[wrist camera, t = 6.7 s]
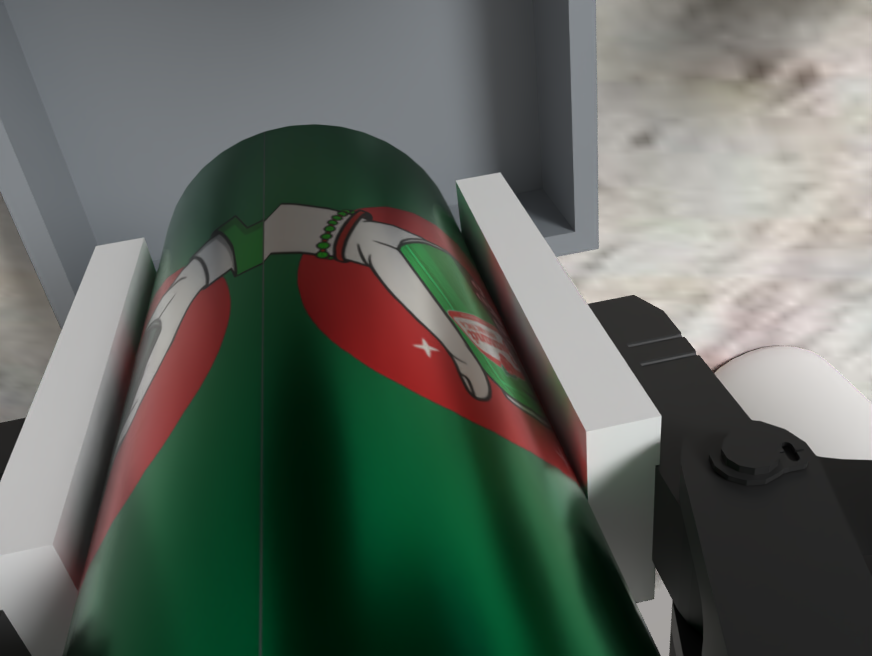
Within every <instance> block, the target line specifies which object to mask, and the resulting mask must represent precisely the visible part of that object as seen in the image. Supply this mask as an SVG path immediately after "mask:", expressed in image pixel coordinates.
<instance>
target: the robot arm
mask: <svg viewBox="0 0 872 656" xmlns="http://www.w3.org/2000/svg"><path fill="white" fill-rule="evenodd" d="M456 190H457V199H458V207H459V216H460V225H461V233H462V236H463V238H464V240H465V242H466V244H467V246H468V248H469V250H470V253H471V255H472V257H473V259H474V261H475V263H476V265H477V267H478V270H479V272H480V274H481V276H482V278H483V280H484V282H485V284H486V286H487V289H488V291H489V293H490V295H491V297H492V299H493V301H494V303H495V306H496V308H497V310H498V312H499V314H500V316H501V318H502V320H503V323H504V325H505V327H506V329H507V331H508V333H509V335H510V337H511V339H512V342H513V344H514V346H515V348H516V350H517V352H518V354H519V356H520V359H521V361H522V363H523V365H524V367H525V369H526V371H527V373H528V376H529V378H530V380H531V382H532V384H533V386H534V388H535V390H536V393H537V395H538V397H539V399H540V401H541V403H542V405H543V407H544V409H545V412H546V414H547V416H548V418H549V420H550V422H551V424H552V426H553V429H554V431H555V433H556V435H557V437H558V439H559V441H560V443H561V446H562V448H563V450H564V452H565V454H566V456H567V458H568V460H569V462H570V465H571V467H572V469H573V471H574V473H575V475H576V477H577V479H578V482H579V484H580V486H581V488H582V490H583V492H584V494H585V496H586V499H587V501H588V503H589V505H590V507H591V509H592V511H593V513H594V515H595V518H596V520H597V522H598V524H599V526H600V528H601V530H602V532H603V535H604V537H605V539H606V541H607V543H608V545H609V547H610V549H611V552H612V554H613V556H614V558H615V560H616V562H617V564H618V566H619V568H620V571H621V573H622V575H623V577H624V579H625V581H626V583H627V585H628V588H629V590H630V592H631V594H632V596H633V598H634V600H635V602H636V603H639V602H643V601H648V600H652V599H654V588H655V567H656V569H657V571H658V573H659V575H660V577H661V579H662V580H663V582H664V584H665V586H666V588H667V590H668V592H669V594H670V596H671V598H672V599H673V604H672V619H671V636H670V653H669V656H872V460H857V459H837V458H828V457H820V456H816V455H815V454H814V452H813V451H812V450H811V448H810V447H809V446H808V445H807V443H806V442H805V441H803V440H801V439H800V438H798V437H797V436H795V435H794V434H792V433H791V432H789V431H788V430H786V429H784V428H781V427H777V426H774V425H771V424H768V423H765V422H762V421H755V420H751V419H750V417H749V416H748V415H747V414H746V412H745V411H744V410H743V409H742V408H741V406H740V405H739V404H738V403H737V401H736V400H735V399H734V398H733V396H732V395H731V394H730V393H729V391H728V390H727V389H726V388H725V386H724V385H723V384H722V383H721V382H720V380H719V379H718V378H717V377H716V375H715V374H714V373H713V372H712V370H711V369H710V368H709V367H708V365H707V364H706V363H705V362H704V360H703V359H702V358H701V357H700V356H699V355H698V356H697V355H696V351H695V349H694V348H693V347H692V346H691V344H690V343H689V342H688V341H687V339H686V338H685V337H682V336H681V332H680V331H679V330H678V328H677V327H676V326H675V325H674V323H673V322H672V321H671V320H670V318H669V317H668V316H667V315H666V313H665V312H664V311H663V310H661V309H659V308H657V307H655V306H653V305H652V304H650V303H648V302H646V301H644V300H642V299H641V298H639V297H637V296H635V295H631V296H626V297H621V298H616V299H611V300H606V301H601V302H595V303H590V304H587V303H586V301H585V300H584V298H583V296H582V295H581V293H580V292H579V290H578V289H577V287H576V286H575V284H574V283H573V281H572V280H571V278H570V277H569V275H568V274H567V272H566V271H565V269H564V268H563V266H562V265H561V263H560V262H559V260H558V259H557V257H556V256H555V254H554V253H553V251H552V250H551V248H550V247H549V245H548V244H547V242H546V241H545V239H544V238H543V236H542V235H541V233H540V232H539V230H538V228H537V227H536V225H535V224H534V222H533V221H532V219H531V218H530V216H529V215H528V213H527V212H526V210H525V209H524V207H523V206H522V204H521V203H520V201H519V200H518V198H517V197H516V195H515V194H514V192H513V191H512V189H511V188H510V186H509V185H508V183H507V182H506V180H505V179H504V177H503V176H502V174H501V173H494V174H489V175H483V176H478V177H472V178H467V179H461V180H456ZM156 274H157V272H156V270H155V267H154V264H153V261H152V258H151V255H150V252H149V250H148V247H147V244H146V241H145V238H144V237H143V238H138V239H132V240H127V241H121V242H116V243H110V244H105V245H99V246H96V247H95V250H94V252H93V254H92V257H91V259H90V262H89V264H88V267H87V269H86V272H85V274H84V277H83V279H82V282H81V284H80V286H79V289H78V291H77V294H76V296H75V299H74V301H73V304H72V306H71V309H70V311H69V314H68V316H67V318H66V321H65V323H64V326H63V328H62V331H61V333H60V336H59V338H58V341H57V343H56V346H55V348H54V350H53V353H52V355H51V358H50V360H49V363H48V365H47V368H46V370H45V373H44V375H43V378H42V380H41V382H40V385H39V387H38V390H37V392H36V395H35V397H34V400H33V402H32V405H31V407H30V410H29V412H28V414H27V417H26V418H23V419H18V420H13V421H8V422H3V423H0V656H62V655H63V651H64V647H65V643H66V639H67V635H68V631H69V627H70V623H71V619H72V615H73V611H74V607H75V603H76V599H77V595H78V591H79V587H80V582H81V578H82V574H83V570H84V566H85V562H86V558H87V554H88V550H89V546H90V542H91V538H92V534H93V530H94V526H95V522H96V518H97V514H98V510H99V505H100V501H101V497H102V493H103V489H104V485H105V481H106V477H107V473H108V469H109V465H110V461H111V457H112V453H113V449H114V445H115V441H116V437H117V433H118V428H119V424H120V420H121V416H122V412H123V408H124V404H125V400H126V396H127V392H128V388H129V384H130V380H131V376H132V372H133V368H134V364H135V360H136V356H137V351H138V347H139V343H140V339H141V335H142V331H143V327H144V323H145V319H146V315H147V311H148V307H149V303H150V299H151V295H152V291H153V287H154V283H155V279H156Z"/></svg>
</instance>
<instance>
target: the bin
mask: <svg viewBox="0 0 872 656" xmlns="http://www.w3.org/2000/svg"><path fill="white" fill-rule="evenodd" d="M309 124H320V125H331V126H341V127H345V128H349V129H353V130H357V131H361V132H365V133H367V134H369V135H372V136H374V137H376V138H379V139H381V140H384V141H386V142H388V143H389V144H391V145H393V146H394V147H396V148H397V149H399V150H401V151H402V152H404V153H405V154H407V155H408V156H409V157H410V158H411V159H413V160H414V161H415V162H416V163H417V164H418V165H419V166H421V167H422V168H423V169H424V170H425V172H426V173H427V174H428V175H429V176H430V178H431V179H432V180H433V181H434V183H435V184H436V185H437V186H438V188H439V190H440V192H441V193H442V195H443V197H444V199H445V200H446V202H447V204H448V206H449V208H450V210H451V212H452V214H453V217H454V219H455V221H456V223H457V225H458V227H459V229H460V231H461V225H460V216H459V207H458V199H457V190H456V180H461V179H467V178H472V177H478V176H483V175H489V174H494V173H501V174H502V176H503V177H504V179H505V180H506V182H507V183H508V185H509V186H510V188H511V189H512V191H513V192H514V194H515V195H516V197H517V198H518V200H519V201H520V203H521V204H522V206H523V207H524V209H525V210H526V212H527V213H528V215H529V216H530V218H531V219H532V221H533V222H534V224H535V225H536V227H537V228H538V230H539V232H540V233H541V235H542V236H543V238H544V239H545V241H546V242H547V244H548V245H549V247H550V248H551V250H552V251H553V253H554V254H555V256H556V257H558V256H563V255H568V254H574V253H579V252H584V251H589V250H594V249H599V235H598V148H597V61H596V0H0V192H1V194H2V196H3V199H4V201H5V203H6V206H7V208H8V210H9V212H10V215H11V217H12V219H13V221H14V224H15V226H16V228H17V230H18V233H19V235H20V237H21V239H22V242H23V244H24V246H25V248H26V251H27V253H28V255H29V257H30V260H31V262H32V264H33V266H34V269H35V271H36V273H37V275H38V278H39V280H40V282H41V285H42V287H43V289H44V291H45V294H46V296H47V298H48V300H49V303H50V305H51V307H52V309H53V312H54V314H55V316H56V318H57V321H58V323H59V325H60V327H61V330H62V328H63V326H64V323H65V321H66V318H67V316H68V314H69V311H70V309H71V306H72V304H73V301H74V299H75V296H76V294H77V291H78V289H79V286H80V284H81V282H82V279H83V277H84V274H85V272H86V269H87V267H88V264H89V262H90V259H91V257H92V254H93V252H94V250H95V247H96V246H99V245H105V244H110V243H116V242H121V241H127V240H132V239H138V238H143V237H144V238H145V241H146V244H147V247H148V250H149V252H150V255H151V258H152V261H153V264H154V267H155V270H156V272H157V270H158V266H159V262H160V258H161V254H162V250H163V246H164V242H165V238H166V234H167V230H168V226H169V223H170V221H171V218H172V215H173V212H174V209H175V207H176V205H177V203H178V201H179V199H180V198H181V196H182V194H183V193H184V191H185V189H186V187H187V186H188V185H189V183H190V182H191V181H192V180H193V179H194V178H195V176H196V175H197V174H198V173H199V172H200V170H201V169H202V168H203V167H205V166H206V165H207V164H208V163H209V162H210V161H212V160H213V159H214V158H215V157H216V156H218V155H219V154H220V153H221V152H223V151H225V150H226V149H228V148H230V147H231V146H233V145H235V144H237V143H238V142H240V141H242V140H244V139H247V138H249V137H252V136H254V135H257V134H259V133H262V132H264V131H268V130H273V129H277V128H282V127H286V126H293V125H309Z"/></svg>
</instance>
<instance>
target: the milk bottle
mask: <svg viewBox="0 0 872 656" xmlns="http://www.w3.org/2000/svg"><path fill="white" fill-rule="evenodd" d="M714 374H715V375H716V377H717V378H718V379H719V380H720V382H721V383H722V384H723V385H724V386H725V388H726V389H727V390H728V391H729V393H730V394H731V395H732V396H733V398H734V399H735V400H736V401H737V403H738V404H739V405H740V406H741V408H742V409H743V410H744V411H745V412H746V414H747V415H748V416H749V417H750V419H751V420H755V421H762V422H765V423H768V424H771V425H774V426H777V427H781V428H784V429H786V430H788V431H789V432H791V433H792V434H794V435H795V436H797V437H798V438H800V439H801V440H803V441H805V442H806V443H807V445H808V446H809V447H810V448H811V450H812V451H813V452H814V454H815V455H816V456H820V457H828V458H837V459H857V460H872V403H871V402H870V401H869V400H868V399H867V398H866V397H865V396H864V395H863V394H862V393H861V392H860V391H859V390H858V389H857V388H856V387H855V386H854V385H853V384H852V383H851V382H850V381H848V380H847V379H846V378H845V377H844V376H843V375H842V374H841V373H840V372H839V371H838V370H837V369H836V368H834V367H833V366H832V365H831V364H830V363H829V362H828V361H826V360H825V359H824V358H823V357H822V356H820V355H818V354H817V353H815V352H812V351H810V350H806V349H803V348H798V347H794V346H780V345H777V346H771V347H763V348H760V349H757V350H753V351H750V352H747V353H745V354H743V355H741V356H739V357H736V358H734V359H732V360H731V361H729V362H728V363H727V364H725V365H723V366H722V367H720V368H719V369H718V370H717V371H716V372H715V373H714Z"/></svg>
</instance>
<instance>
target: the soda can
mask: <svg viewBox="0 0 872 656" xmlns="http://www.w3.org/2000/svg"><path fill="white" fill-rule="evenodd" d="M62 656H660V653H659V651H658V649H657V647H656V645H655V643H654V641H653V638H652V637H651V634H650V632H649V630H648V628H647V626H646V624H645V622H644V619H643V617H642V615H641V613H640V611H639V609H638V607H637V605H636V602H635V600H634V598H633V596H632V594H631V592H630V590H629V588H628V585H627V583H626V581H625V579H624V577H623V575H622V573H621V571H620V568H619V566H618V564H617V562H616V560H615V558H614V556H613V554H612V552H611V549H610V547H609V545H608V543H607V541H606V539H605V537H604V535H603V532H602V530H601V528H600V526H599V524H598V522H597V520H596V518H595V515H594V513H593V511H592V509H591V507H590V505H589V503H588V501H587V499H586V496H585V494H584V492H583V490H582V488H581V486H580V484H579V482H578V479H577V477H576V475H575V473H574V471H573V469H572V467H571V465H570V462H569V460H568V458H567V456H566V454H565V452H564V450H563V448H562V446H561V443H560V441H559V439H558V437H557V435H556V433H555V431H554V429H553V426H552V424H551V422H550V420H549V418H548V416H547V414H546V412H545V409H544V407H543V405H542V403H541V401H540V399H539V397H538V395H537V393H536V390H535V388H534V386H533V384H532V382H531V380H530V378H529V376H528V373H527V371H526V369H525V367H524V365H523V363H522V361H521V359H520V356H519V354H518V352H517V350H516V348H515V346H514V344H513V342H512V339H511V337H510V335H509V333H508V331H507V329H506V327H505V325H504V323H503V320H502V318H501V316H500V314H499V312H498V310H497V308H496V306H495V303H494V301H493V299H492V297H491V295H490V293H489V291H488V289H487V286H486V284H485V282H484V280H483V278H482V276H481V274H480V272H479V270H478V267H477V265H476V263H475V261H474V259H473V257H472V255H471V253H470V250H469V248H468V246H467V244H466V242H465V240H464V238H463V236H462V233H461V231H460V229H459V227H458V225H457V223H456V221H455V219H454V217H453V214H452V212H451V210H450V208H449V206H448V204H447V202H446V200H445V199H444V197H443V195H442V193H441V192H440V190H439V188H438V186H437V185H436V184H435V183H434V181H433V180H432V179H431V178H430V176H429V175H428V174H427V173H426V172H425V170H424V169H423V168H422V167H421V166H419V165H418V164H417V163H416V162H415V161H414V160H413V159H411V158H410V157H409V156H408V155H407V154H405V153H404V152H402V151H401V150H399V149H397V148H396V147H394V146H393V145H391V144H389V143H388V142H386V141H384V140H381V139H379V138H376V137H374V136H372V135H369V134H367V133H365V132H361V131H357V130H353V129H349V128H345V127H341V126H331V125H320V124H309V125H293V126H286V127H282V128H277V129H273V130H268V131H264V132H262V133H259V134H257V135H254V136H252V137H249V138H247V139H244V140H242V141H240V142H238V143H237V144H235V145H233V146H231V147H230V148H228V149H226V150H225V151H223V152H221V153H220V154H219V155H218V156H216V157H215V158H214V159H213V160H212V161H210V162H209V163H208V164H207V165H206V166H205V167H203V168H202V169H201V170H200V172H199V173H198V174H197V175H196V176H195V178H194V179H193V180H192V181H191V182H190V183H189V185H188V186H187V187H186V189H185V191H184V193H183V194H182V196H181V198H180V199H179V201H178V203H177V205H176V207H175V209H174V212H173V215H172V218H171V221H170V223H169V226H168V230H167V234H166V238H165V242H164V246H163V250H162V254H161V258H160V262H159V266H158V270H157V274H156V279H155V283H154V287H153V291H152V295H151V299H150V303H149V307H148V311H147V315H146V319H145V323H144V327H143V331H142V335H141V339H140V343H139V347H138V351H137V356H136V360H135V364H134V368H133V372H132V376H131V380H130V384H129V388H128V392H127V396H126V400H125V404H124V408H123V412H122V416H121V420H120V424H119V428H118V433H117V437H116V441H115V445H114V449H113V453H112V457H111V461H110V465H109V469H108V473H107V477H106V481H105V485H104V489H103V493H102V497H101V501H100V505H99V510H98V514H97V518H96V522H95V526H94V530H93V534H92V538H91V542H90V546H89V550H88V554H87V558H86V562H85V566H84V570H83V574H82V578H81V582H80V587H79V591H78V595H77V599H76V603H75V607H74V611H73V615H72V619H71V623H70V627H69V631H68V635H67V639H66V643H65V647H64V651H63V655H62Z"/></svg>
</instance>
